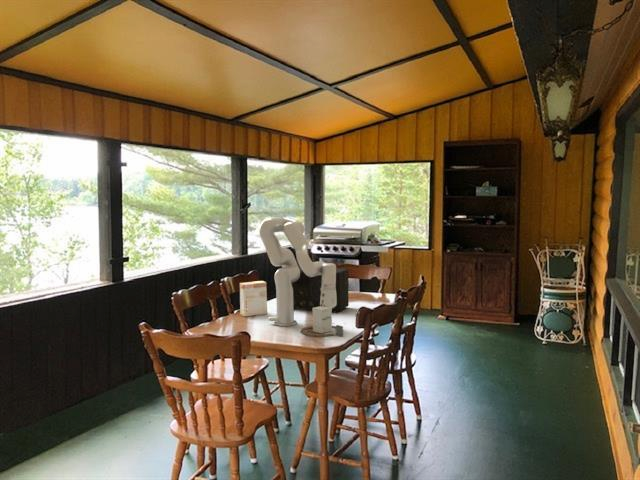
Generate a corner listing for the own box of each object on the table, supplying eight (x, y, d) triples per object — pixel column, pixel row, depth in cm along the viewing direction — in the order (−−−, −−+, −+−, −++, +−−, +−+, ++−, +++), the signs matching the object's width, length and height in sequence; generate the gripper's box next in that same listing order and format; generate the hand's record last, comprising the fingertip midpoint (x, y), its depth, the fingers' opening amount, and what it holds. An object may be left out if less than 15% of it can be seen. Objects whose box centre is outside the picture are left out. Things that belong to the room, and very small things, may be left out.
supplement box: (321, 333, 279) (321, 309, 278) (312, 331, 284) (311, 307, 283) (332, 331, 284) (331, 307, 283) (323, 328, 289) (322, 305, 288)
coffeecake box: (263, 311, 335) (262, 280, 334) (267, 313, 329) (266, 282, 327) (240, 314, 328) (239, 282, 327) (244, 316, 322) (243, 284, 320)
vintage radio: (282, 309, 340) (281, 270, 338) (295, 304, 358) (294, 266, 356) (338, 314, 326) (338, 272, 324) (349, 307, 344) (348, 268, 342)
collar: (326, 340, 266) (326, 330, 265) (292, 331, 285) (292, 321, 284) (357, 332, 281) (356, 322, 280) (322, 324, 300) (322, 315, 299)
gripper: (326, 289, 281) (325, 324, 282) (341, 285, 293) (340, 318, 295) (314, 287, 285) (313, 321, 287) (329, 283, 297) (328, 316, 299)
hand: (327, 320), depth 291 cm, fingers closed
